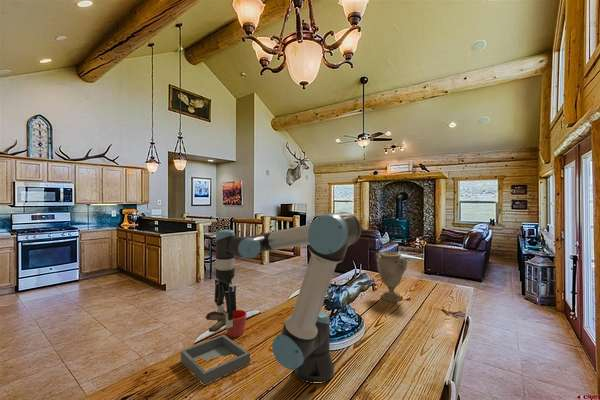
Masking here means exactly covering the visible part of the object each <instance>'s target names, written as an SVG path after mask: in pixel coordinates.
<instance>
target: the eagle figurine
mask: <svg viewBox="0 0 600 400" xmlns="http://www.w3.org/2000/svg"><path fill="white" fill-rule="evenodd" d="M204 319H206V321H215V324H213V325H212V326H210V327H208V328H209V329H208V332H209V333H217V332H218V331H220V330H221V329H222V328H223V327H226V310H225V309H224V313H223V312H221V313H220V312H217V311H215V310H214V311H210V312H208V313H207V314H206V315H205V317H204ZM217 320H218V321H217Z"/></svg>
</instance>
